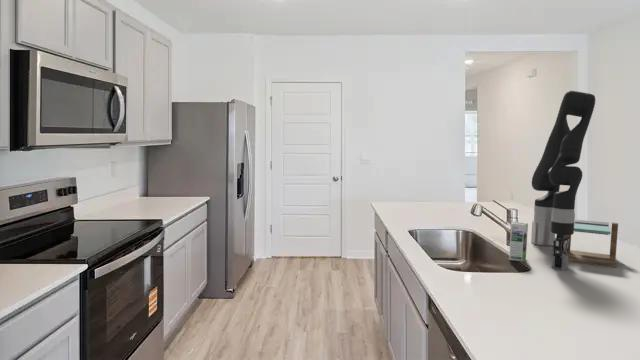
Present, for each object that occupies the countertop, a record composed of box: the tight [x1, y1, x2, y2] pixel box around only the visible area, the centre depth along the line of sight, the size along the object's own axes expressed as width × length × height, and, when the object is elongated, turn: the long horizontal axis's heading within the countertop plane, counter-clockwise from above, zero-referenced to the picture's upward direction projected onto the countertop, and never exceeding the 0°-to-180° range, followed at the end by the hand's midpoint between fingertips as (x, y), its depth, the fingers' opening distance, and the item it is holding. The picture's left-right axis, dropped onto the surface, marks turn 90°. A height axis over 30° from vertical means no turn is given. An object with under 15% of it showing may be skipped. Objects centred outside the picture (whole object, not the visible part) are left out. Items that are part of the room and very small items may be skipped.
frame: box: [567, 222, 619, 269], centre depth 187 cm, size 19×18×14 cm
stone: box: [551, 251, 569, 271], centre depth 174 cm, size 5×5×5 cm
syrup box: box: [508, 221, 529, 262], centre depth 184 cm, size 6×6×14 cm
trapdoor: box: [574, 219, 612, 236], centre depth 188 cm, size 20×13×4 cm, turn 149°
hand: (559, 265), depth 174 cm, fingers open, 5 cm apart
